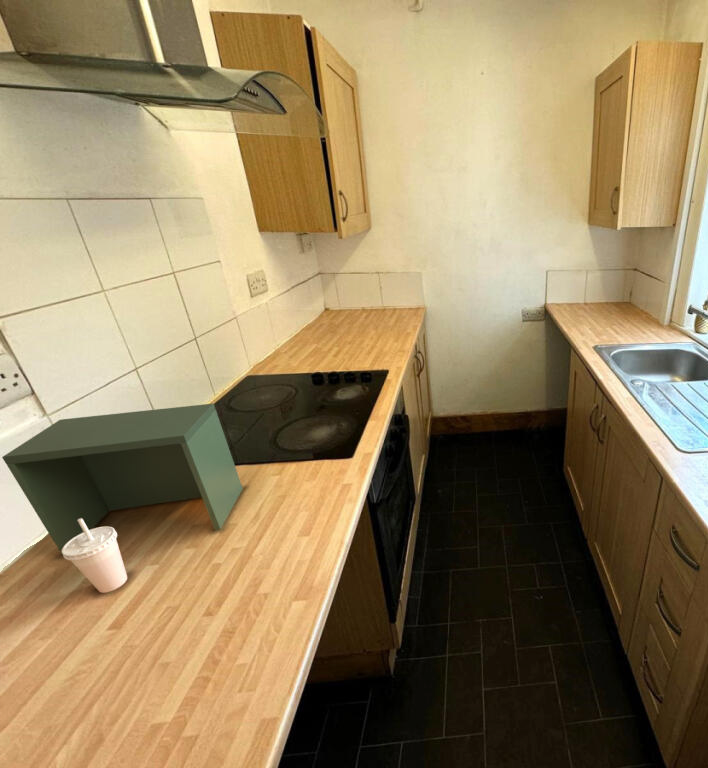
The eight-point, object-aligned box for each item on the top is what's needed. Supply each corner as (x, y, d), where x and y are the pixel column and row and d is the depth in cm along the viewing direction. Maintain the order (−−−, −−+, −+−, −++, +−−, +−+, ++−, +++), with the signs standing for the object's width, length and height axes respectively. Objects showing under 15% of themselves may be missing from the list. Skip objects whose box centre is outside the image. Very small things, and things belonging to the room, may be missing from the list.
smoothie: (109, 602, 67) (70, 536, 61) (76, 597, 68) (35, 531, 62) (147, 570, 73) (115, 507, 67) (116, 565, 74) (82, 503, 68)
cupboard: (62, 555, 76) (1, 457, 67) (106, 508, 88) (60, 419, 79) (220, 529, 82) (184, 435, 73) (242, 488, 93) (213, 403, 84)
